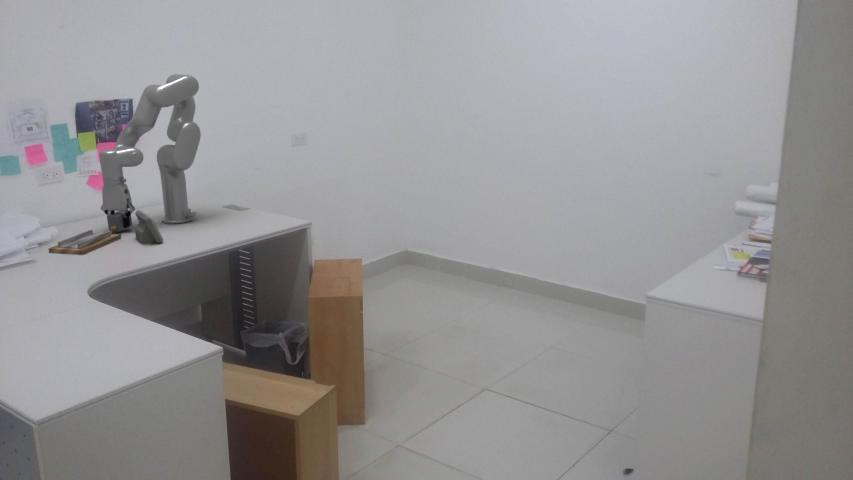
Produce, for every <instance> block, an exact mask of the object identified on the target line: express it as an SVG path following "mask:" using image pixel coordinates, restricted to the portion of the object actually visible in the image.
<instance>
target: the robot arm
mask: <svg viewBox="0 0 853 480" xmlns="http://www.w3.org/2000/svg"><path fill="white" fill-rule="evenodd" d="M199 88H200V85H199V81H198V80H197V78H195V77H194V76H193V75H189V74H177V73H176V74H171V75H169V76H168V77H167V78H166V81H165V83H164V84H162V85H161V84H149V85H147V86H146V87H145V88H144V89H143V91H142V94H141V96H140V98H139V100H138V103H137V106H136V109H135V111H134V113H133V116H132V118H131V119H130V120H129V121H128V123H127V124H126V125H125V127H124V128H123V129H122V130H121V132H120V133H119V135H118V137H117V140H116V142H115V145H114V147H113V148H112V149H111V148H109V149H103V150H100V151H99V152H98V158H99V164H100V171H101V177H102V182H103V185H102V188H101V189H102V191H101V193H102V194H101V197H102V198H101V199H102V204H101V206H100V210H101V211H102V212H104V214H106V216H108V215H111V214H113V213H115V211H116V212H118V211H121V212H122V214H123V217H124V218H123V225H124V228H127V227H129V226H130V220H129V216H130V215H131V216H132V213H133V212H135V210H136V207H135V206H134V204H133V201H132V196H131V192H130V190H129V186H128V185H127V179H126V178H125V177H124V172H123V171H124V170H123V168H129V167H130V168H132V167H133V168H134V167H138V166H140V164H142V163H143V161H144V153H143V152H142V151H141V149H138V148H137V147H136V144H137V143H138V141H139V140H140V138H141V137H142V136H143V135H145V134H146V133H148V132H150V131H151V130H152V129H154V128H155V125H156V123H157V120H158V118H159V115H160V113H161V111H162V108H168V107H172V106H173V108H172V112H171V116H170V119H169V122H168V126H167V128H166V129H167V130H166V135H167V138H168V139H169V140H170V141H172V142H174V143H175V145H174V144H164V145H162V146H161V147H160V148H159V149H158V150H157V152H156V162H157V165H158V170H159V174H160V181H161V183H160V184H161V192H162V199H163V200H162V201H163V211H164V217H161V219H160V221H161V222H162V223H164V224H170V225H171V224H173V225H174V224H177V225H178V224H184V223H188V222H191V221H193V220H194V218H197V216H198V213H197V212H196V211H195V212H194V211H192V209H191V208H189V202H188V192H187V191H188V190H187V179H186V174H185V171H187V170H188V169H190V168H191V166H192V165H193V163H194V162H195V159H196V155H197V152H198V148H199V144H200V141H201V136H202V134H201V132H202V131H201V129H200V127H199V125H198V124H197V123H196V122H194V117H195V113H196V102H195V101H196V100H195V97H194V96H195V95H196V94H197V93H198V91H199ZM125 212H126V213H125ZM129 228H130V227H129ZM127 229H128V228H127Z"/></svg>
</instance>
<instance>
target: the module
mask: <svg viewBox="0 0 853 480" xmlns="http://www.w3.org/2000/svg"><path fill="white" fill-rule="evenodd" d="M125 213H126V212H125ZM123 218H124V217H123V214H122V212H121V211H116V212H115V213H113V214H111V215H106V221H107V225H108V226H107V228H108V231H111V232H123V231H124V230H126V229H128V228H131V227H133V220H132V214H131V215H130V216H129V220H130V226H129V227H127V228H124V225H123Z"/></svg>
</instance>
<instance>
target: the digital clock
mask: <svg viewBox="0 0 853 480" xmlns="http://www.w3.org/2000/svg"><path fill="white" fill-rule="evenodd" d="M134 214H135V217H136V218H137V220H138V224H137V226H136V227H135V228H134V232H135V240H137V241H138V242H139V243H140V244H142V245H146V244H155V243H157V244H162V243H163V242H164V238H163V236H162V234H161V232H160V230H159V228H158V227H157V225H156V223H155V220H154V219H153V218H152V216H150V215H149V214H148V213H146V212H144V211H143V210H139V209H138V210H136V211H135V213H134Z"/></svg>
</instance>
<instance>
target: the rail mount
mask: <svg viewBox="0 0 853 480" xmlns="http://www.w3.org/2000/svg"><path fill="white" fill-rule="evenodd" d="M93 231H94V230H93V229H88V230H86V231H83V232H80V233H79V234H75V235H73V236H70V237H68V238H65V239H63V240H60V241H58V242H57V245H54V246H52V247H49V248H48V253H49V254H66V255H83V256H84V255H86V254H88V253H91V252H93V251H96V250H98V249H100V248H102V247H103V248H104V246H107V245H110V244H111V243H114V242H117V241H119V240H121V239H122V235H121V234H114V233H113V234H112V231H109V230H108V231H107V230H106V231H105V232H104V231H103V232H102V233H97V232H94V233H93Z"/></svg>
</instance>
